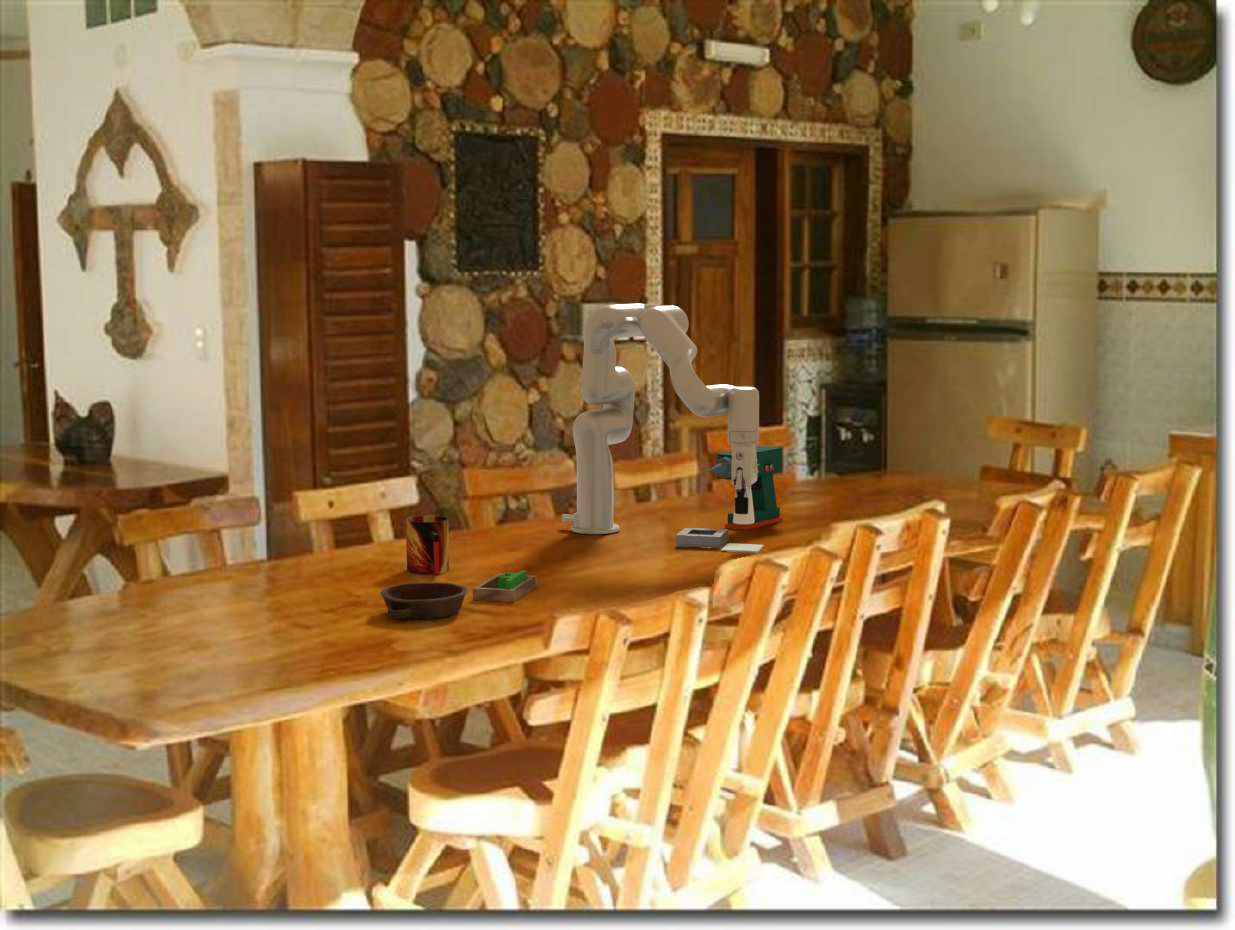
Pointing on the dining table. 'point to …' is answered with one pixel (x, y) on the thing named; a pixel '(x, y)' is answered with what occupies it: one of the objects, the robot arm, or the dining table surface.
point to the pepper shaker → (750, 516)
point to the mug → (427, 545)
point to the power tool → (756, 485)
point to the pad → (742, 548)
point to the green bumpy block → (511, 580)
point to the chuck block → (702, 537)
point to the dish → (423, 600)
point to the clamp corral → (502, 590)
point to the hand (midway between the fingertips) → (743, 511)
